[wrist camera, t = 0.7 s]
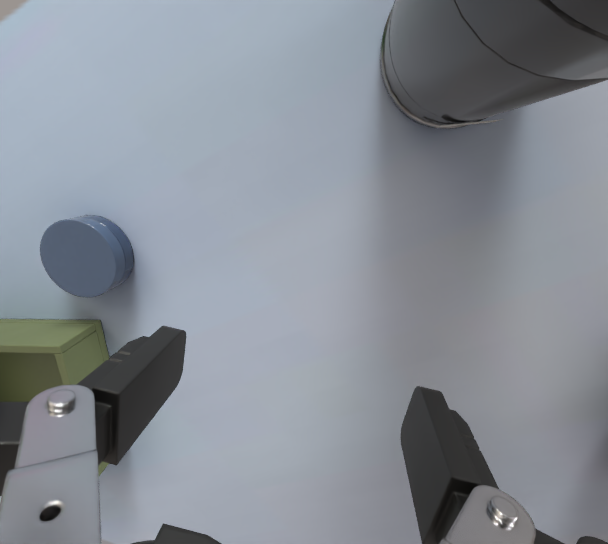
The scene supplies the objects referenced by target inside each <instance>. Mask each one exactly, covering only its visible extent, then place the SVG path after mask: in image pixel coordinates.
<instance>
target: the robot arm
mask: <svg viewBox="0 0 608 544" xmlns="http://www.w3.org/2000/svg"><path fill="white" fill-rule="evenodd" d="M380 65H381V72H382V77H383V81H384V84H385V87H386V89H387V92H388V94H389V95H390V97H391V99H392V100H393V102H394V103H395V105H396V106H397V107H398V108H399V109H400V110H401V111H402V112H403V113H404V114H405V115H406V116H408V117H409V118H410V119H412V120H414V121H415V122H417V123H420V124H422V125H425V126H428V127H433V128H440V129H451V128H458V127H463V126H467V125H470V124H480V123H490V122H496V121H499V120H491V121H481V120H483V119H486V118H488V117H491V116H494V115H497V114H500V113H504V112H507V111H510V110H513V109H516V108H520V107H523V106H526V105H529V104H532V103H536V102H539V101H542V100H545V99H548V98H551V97H555V96H558V95H561V94H564V93H567V92H571V91H574V90H577V89H580V88H583V87H587V86H590V85H593V84H596V83H599V82H603V81H606V80H608V0H395V2H394V5H393V8H392V10H391V12H390V14H389V17H388V19H387V22H386V26H385V29H384V32H383V37H382V42H381V50H380ZM501 120H503V119H501ZM478 121H481V122H478ZM185 344H186V332H185V331H184V330H180V329H175V328H171V327H167V326H162V327H161V328H159V329H158V330H157V331H156V332H155V333H154V334H152V335H151V336H150V337H145V336H143V337H140V338H138V339H135V340H133V341H130V342H128V343H127V344H126V345H125V346H123V347H122V348H121V349H120V350H118V352H117V353H115V354H113V355H112V356H111V357H110V358H109V360H106V361H105V362H104V363H102V364H101V365H100V366H99V367H97V368H96V369H95V370H94V371H92V372H91V373H90V374H89V375H87V376H86V377H85V378H84V379H83V380H81V381H80V382H79V383H78V384H76V385H61V386H56V387H53V388H50V389H47V390H45V391H43V392H41V393H39V394H38V395H36V396H35V397H34V398H32V399H31V401H30V402H0V496H1V501H0V544H101V522H100V497H99V473H98V466H99V465H100V463H101V462H106V463H110V464H114V465H117V464H118V463H119V462H120V460H121V459H122V458H123V456H124V455H125V454H126V452H127V451H128V450H129V448H130V447H131V446H132V445H133V443H134V442H135V441H136V439H137V438H138V437H139V435H140V434H141V433H142V431H143V430H144V429H145V428H146V426H147V425H148V424H149V422H150V421H151V420H152V418H153V417H154V416H155V414H156V413H157V412H158V410H159V409H160V408H161V407H162V405H163V404H164V403H165V401H166V400H167V399H168V397H169V396H170V395H171V393H172V392H173V391H174V390H175V388H176V387H177V385H178V383H179V381H180V378H181V375H182V371H183V363H184V353H185ZM401 445H402V450H403V455H404V459H405V464H406V469H407V474H408V478H409V483H410V488H411V493H412V498H413V502H414V507H415V512H416V517H417V521H418V526H419V531H420V536H421V540H422V544H564V543H562V542H560V541H558V540H556V539H554V538H552V537H550V536H548V535H546V534H544V533H542V532H541V531H539V530H537V529H535V526H534V523H533V521H532V519H531V517H530V516H529V514H528V513H527V511H526V510H525V509H524V508H523V507H522V506H521V505H520V504H519V503H518V502H517V501H516V500H515V499H514V498H512V497H511V496H510V495H508V494H506V493H505V492H503V491H501V490H499V488H498V486H497V484H496V482H495V480H494V478H493V475H492V473H491V471H490V469H489V467H488V465H487V463H486V461H485V459H484V457H483V455H482V453H481V451H479V447H478V445H477V443H476V440H474V436H473V434H472V432H471V430H470V428H469V426H468V424H467V423H466V422H465V421H464V420H463V418H462V417H461V416H460V415H459V414H458V413H457V412H456V411H454V410H450V409H449V408H448V405H447V403H446V401H445V399H444V396H443V394H442V393H441V392H440V391H436V390H432V389H428V388H424V387H419V386H417V387H416V388H415V390H414V392H413V395H412V398H411V401H410V403H409V406H408V409H407V412H406V415H405V418H404V421H403V424H402V428H401ZM132 544H221V543H219V542H218V541H216V540H215V539H213V538H211V537H210V536H208V535H205V534H201V533H197V532H193V531H190V530H186V529H182V528H178V527H174V526H171V525H167V524H163V525H162V527H161V529H160V531H159V533H158V535H157V537H156V539H155V540H150V541H142V542H136V543H132ZM576 544H608V543H607V542H605V541H603V540H600V539H598V538H594V537H589V536H585V537H581V538H580V539H579V540H578V541H577V543H576Z"/></svg>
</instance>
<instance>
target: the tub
mask: <svg viewBox="0 0 608 544" xmlns="http://www.w3.org/2000/svg"><path fill="white" fill-rule="evenodd" d="M106 360H109V354H108V350H107V346H106V342H105V338H104V334H103V330H102V326H101V321H100V320H44V319H0V402H30V401H31V399H32V398H34V397H35V396H36V395H38V394H39V393H41V392H43V391H45V390H47V389H50V388H53V387H56V386H61V385H76V384H78V383H79V382H80V381H81V380H83V379H84V378H85V377H86V376H87V375H89V374H90V373H91V372H92V371H94V370H95V369H96V368H97V367H99V366H100V365H101V364H102V363H104V362H105V361H106ZM108 464H109V463H106V462H101V463H100V465H99V466H98V473H99V476H100V474H101V473H102V472H103V471H104V469H105V468H106V467H107V466H108Z"/></svg>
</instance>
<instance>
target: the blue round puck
mask: <svg viewBox="0 0 608 544" xmlns="http://www.w3.org/2000/svg"><path fill="white" fill-rule="evenodd" d="M40 255H41V260H42V263H43V266H44V268H45V270H46V272H47V273H48V275H49V276H50V278H51V279H52V280H53V281H54V282H55V283H56V284H57V285H58V286H59V287H60V288H62V289H63V290H65V291H66V292H68V293H70V294H73V295H76V296H79V297H96V296H99V295H101V294H103V293H105V292H107V291H109V290H111V289H112V288H114V287H116V286H118V285H120V284H121V283H123V282H124V281H125V280H126V279H127V278H128V276H129V275H130V273H131V271H132V268H133V262H134V257H133V251H132V247H131V244H130V242H129V240H128V238H127V237H126V235H125V234H124V232H123V231H122V230H121V229H120V228H119V227H118V226H117V225H115V224H114V223H113V222H111V221H109V220H108V219H105V218H103V217H100V216H95V215H85V216H80V217H75V218H70V219H65V220H61V221H58V222H56V223H54V224H52V225H51V226H50V227H49V228H48V229H47V230H46V231H45V233H44V235H43V237H42V240H41V244H40Z"/></svg>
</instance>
